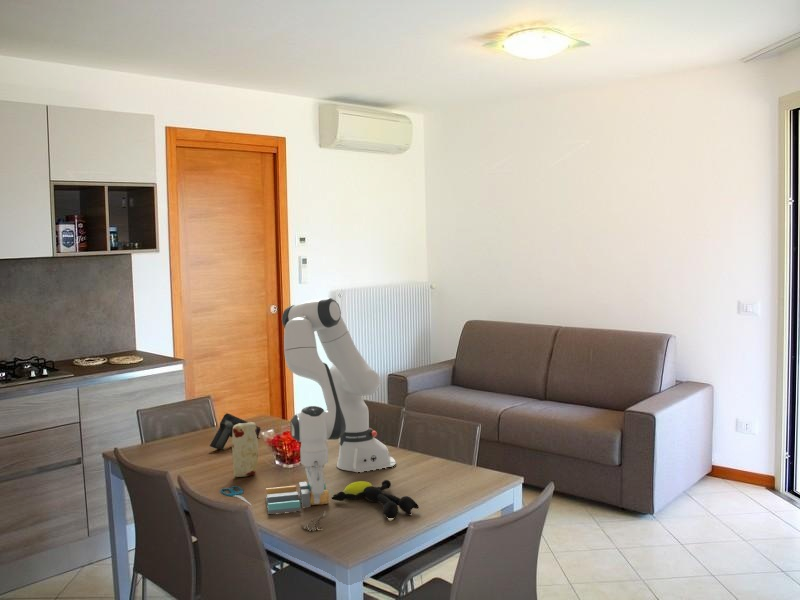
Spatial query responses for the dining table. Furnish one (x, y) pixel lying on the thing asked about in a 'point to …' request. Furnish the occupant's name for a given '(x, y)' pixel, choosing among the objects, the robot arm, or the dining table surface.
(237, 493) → the scissors
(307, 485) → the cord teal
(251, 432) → the food model
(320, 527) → the leaf
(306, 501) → the tan and gray block
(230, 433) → the handgun
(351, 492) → the toy
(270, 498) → the rack
